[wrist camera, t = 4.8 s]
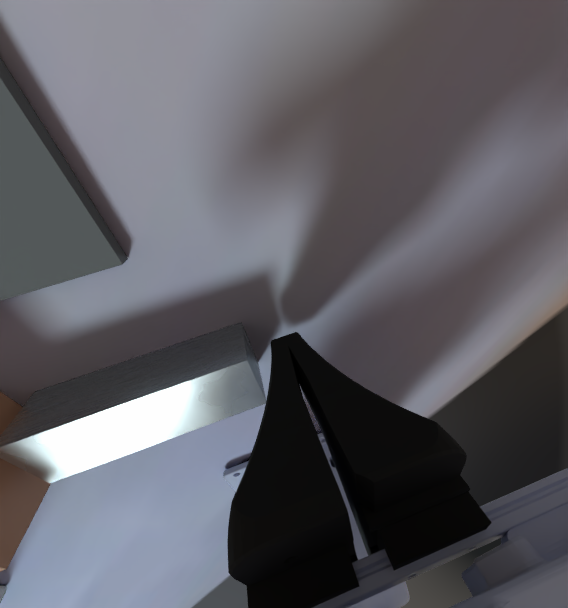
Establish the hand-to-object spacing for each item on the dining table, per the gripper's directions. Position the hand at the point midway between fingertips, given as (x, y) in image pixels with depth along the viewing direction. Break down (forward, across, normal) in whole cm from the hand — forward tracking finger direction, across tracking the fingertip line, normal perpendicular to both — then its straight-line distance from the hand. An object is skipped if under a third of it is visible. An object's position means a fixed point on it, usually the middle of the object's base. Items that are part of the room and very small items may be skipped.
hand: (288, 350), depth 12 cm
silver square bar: (+2, +7, 0) cm, 7 cm away
